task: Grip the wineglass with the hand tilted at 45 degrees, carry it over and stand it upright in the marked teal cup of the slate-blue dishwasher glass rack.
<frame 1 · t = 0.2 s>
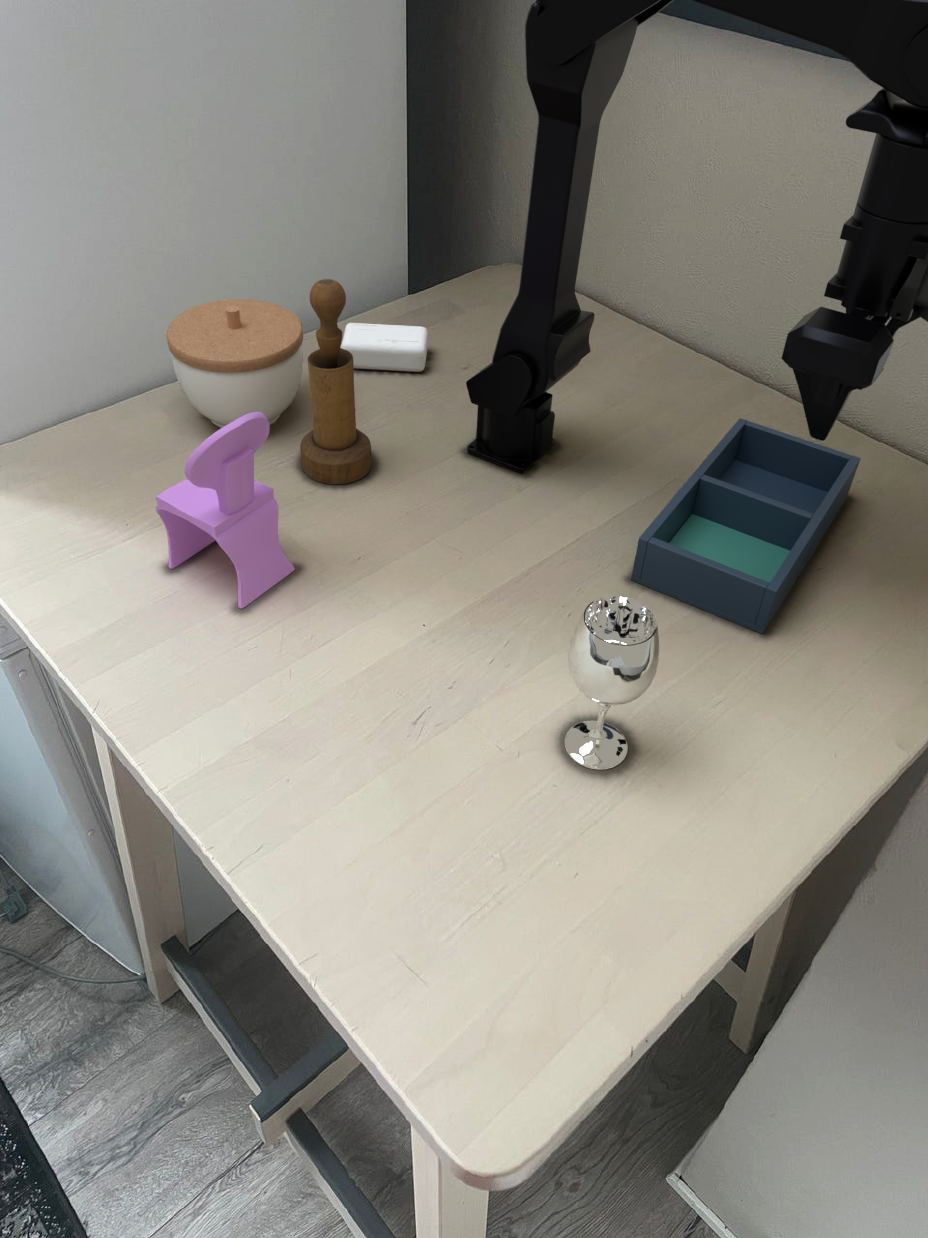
hand: (837, 412, 79), 15 cm above the table, tool pointing down, fingers open, 9 cm apart
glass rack: (744, 536, 91), on the table
lidded bowl: (245, 414, 103), on the table
wineglass: (595, 746, 73), on the table
toy chair: (230, 569, 85), on the table
mortar and pestle: (336, 466, 97), on the table
soap: (385, 361, 112), on the table
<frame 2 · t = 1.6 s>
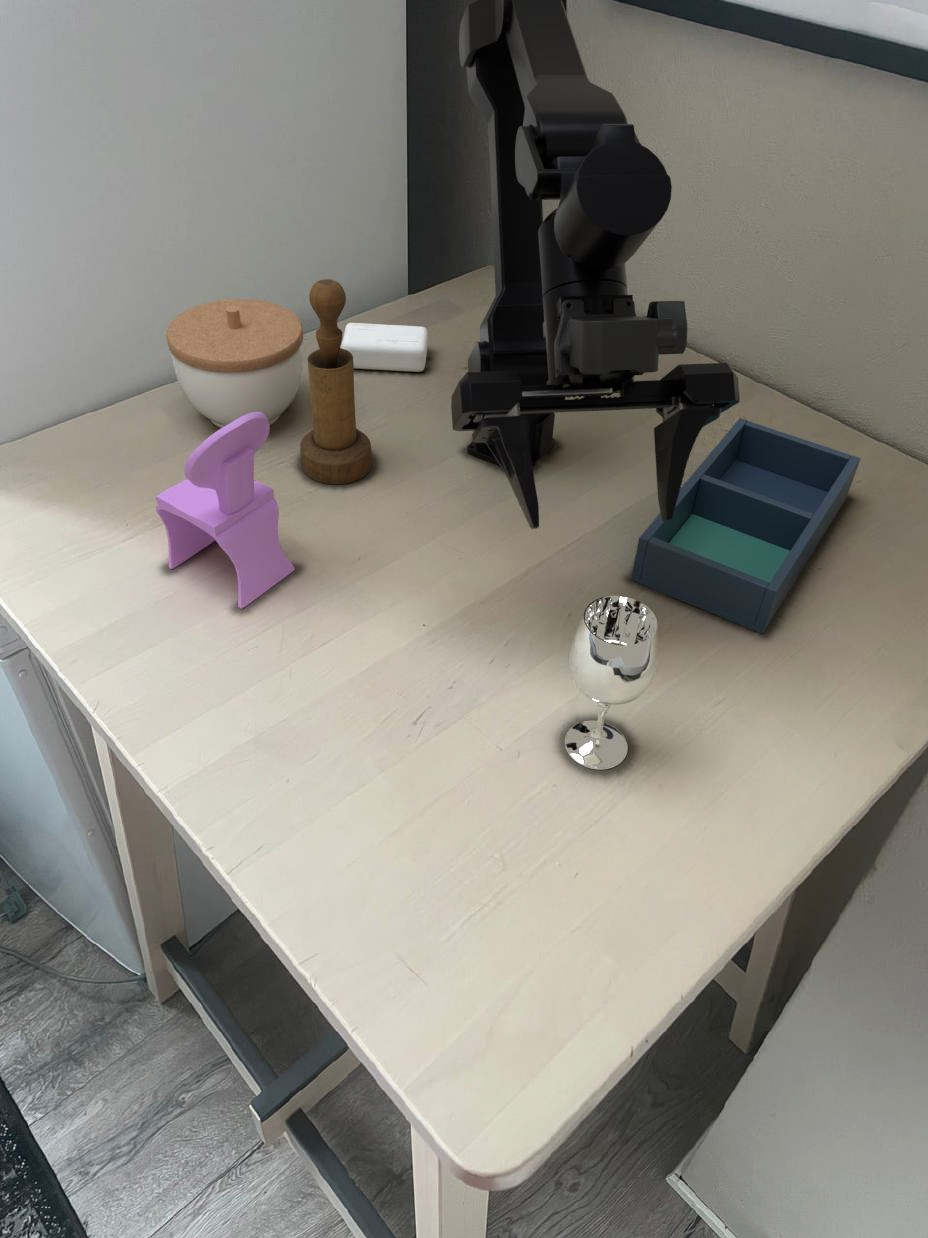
hand: (601, 524, 69), 13 cm above the table, tool tilted 45°, fingers open, 9 cm apart
nothing on the table moved.
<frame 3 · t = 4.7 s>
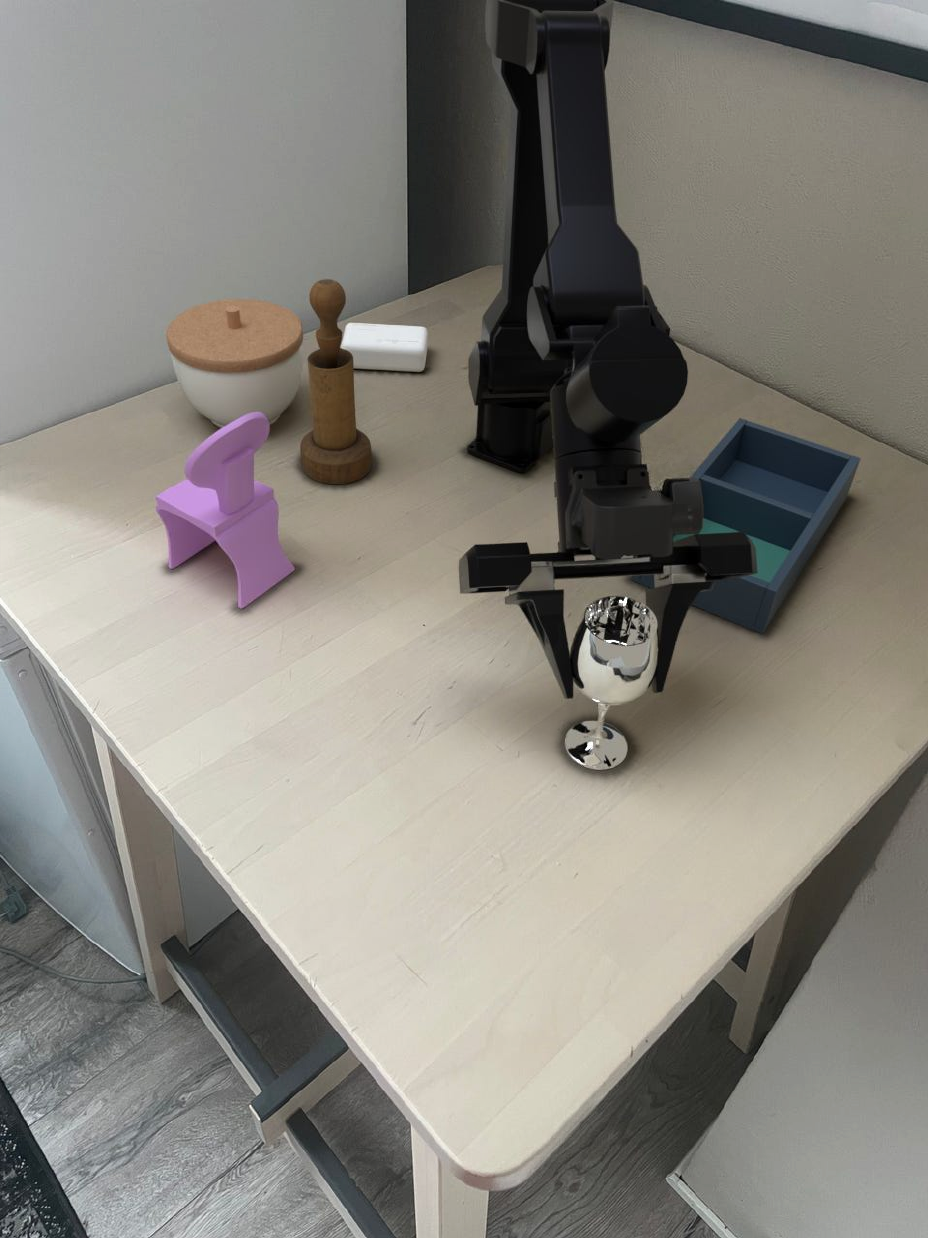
hand: (613, 695, 67), 7 cm above the table, tool tilted 45°, fingers closed on wineglass, 5 cm apart
wineglass: (595, 747, 73), on the table, touching gripper
everything else where it was.
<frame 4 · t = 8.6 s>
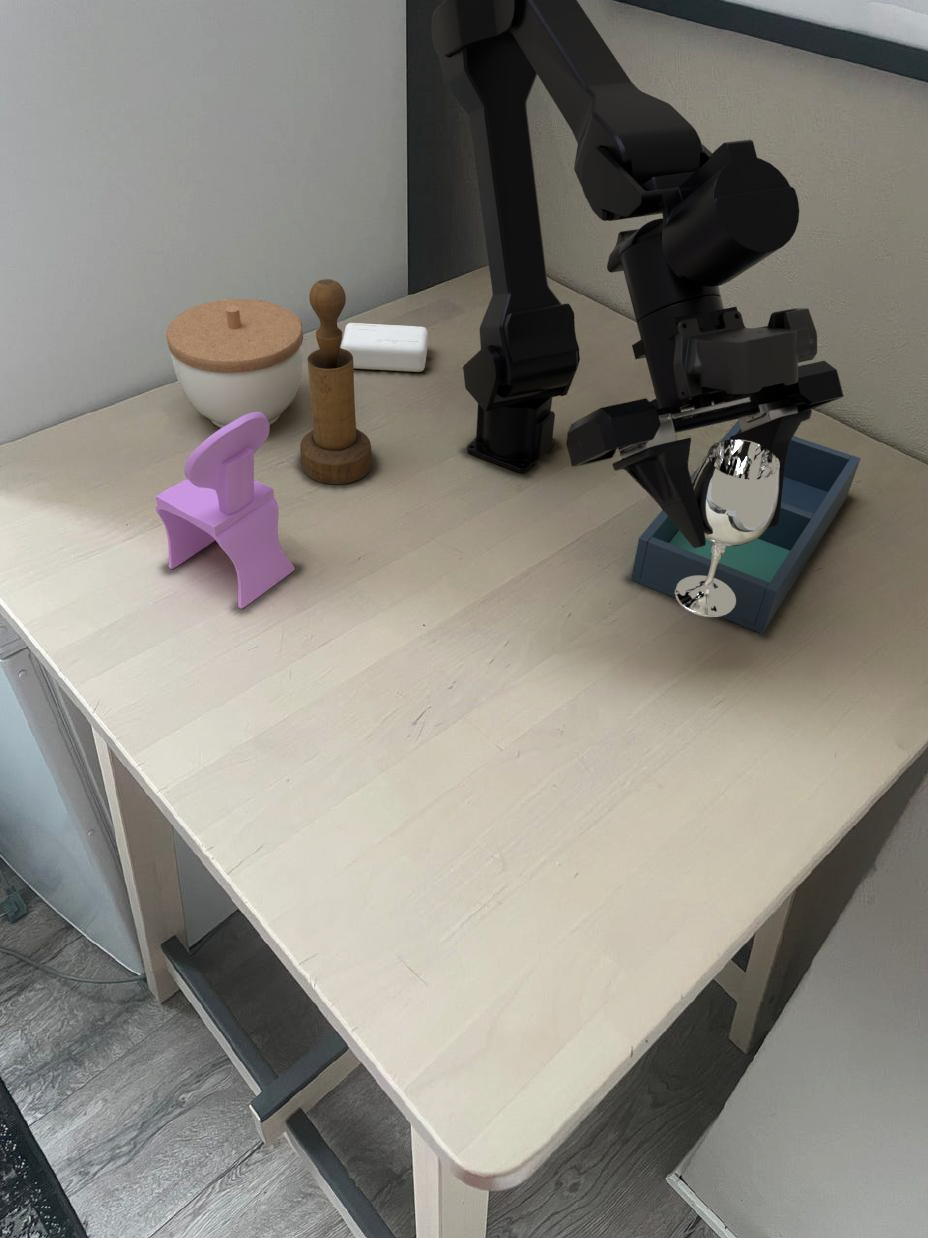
hand: (736, 537, 69), 13 cm above the table, tool tilted 45°, fingers closed on wineglass, 5 cm apart
wineglass: (704, 598, 75), point 6 cm above the table, touching gripper
everything else where it was.
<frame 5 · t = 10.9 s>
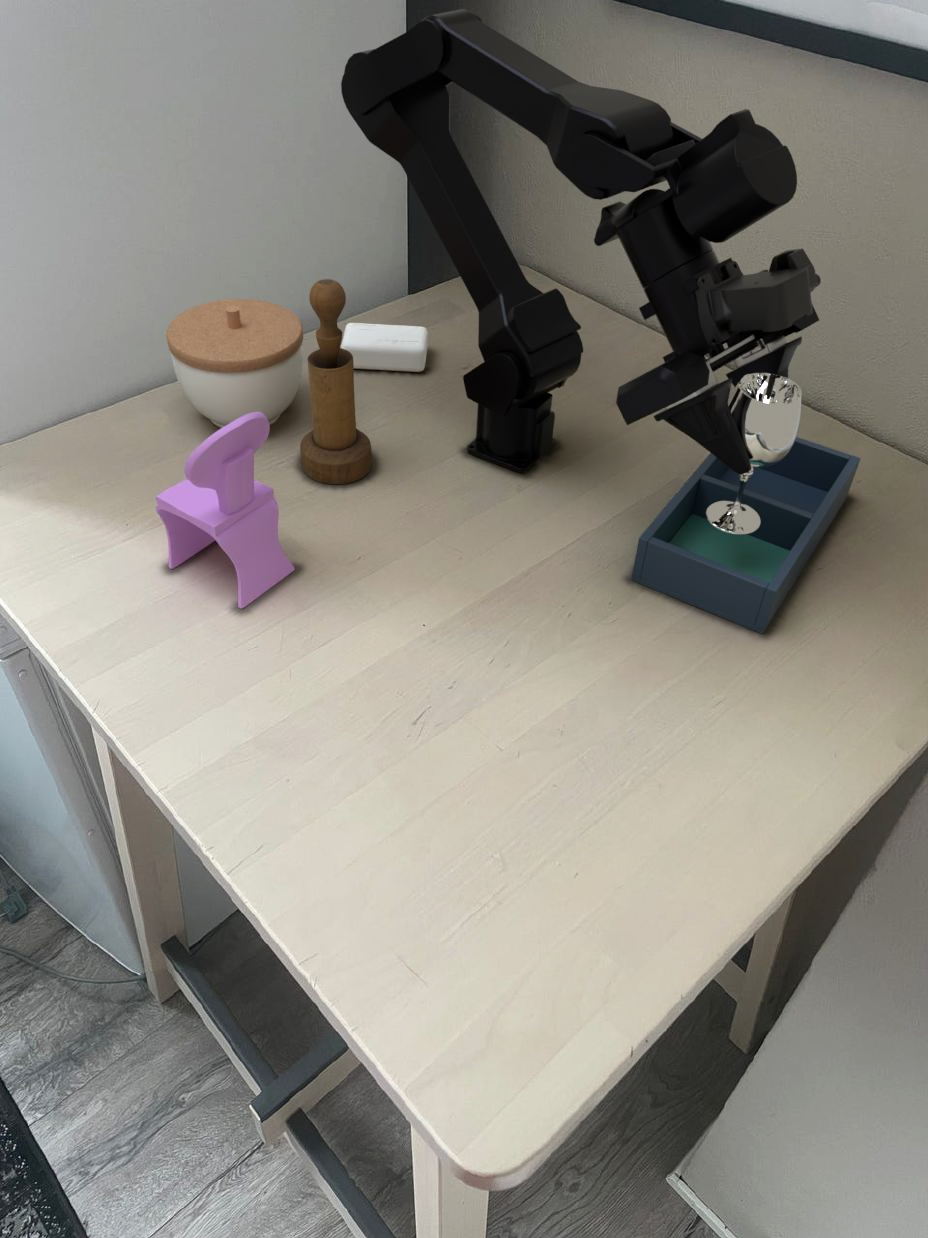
hand: (767, 458, 79), 12 cm above the table, tool tilted 45°, fingers closed on wineglass, 5 cm apart
wineglass: (732, 519, 84), point 5 cm above the table, touching gripper
everything else where it was.
when the fingers open (7 cm above the table, at t = 12.7 s): wineglass stays where it is, resting on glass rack.
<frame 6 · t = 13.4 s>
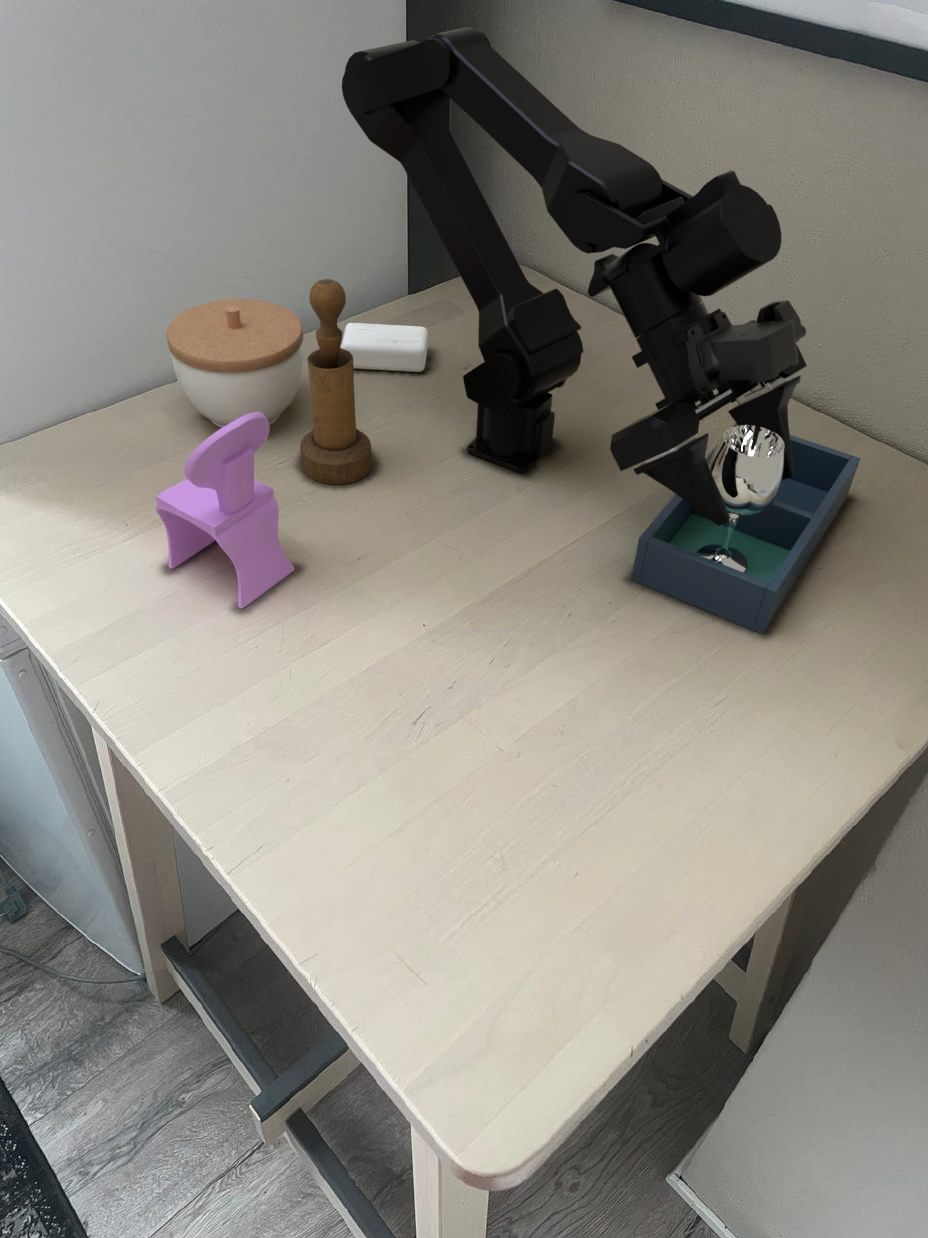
hand: (757, 500, 81), 8 cm above the table, tool tilted 45°, fingers open, 9 cm apart
wineglass: (720, 563, 87), point 1 cm above the table, touching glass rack
everything else where it was.
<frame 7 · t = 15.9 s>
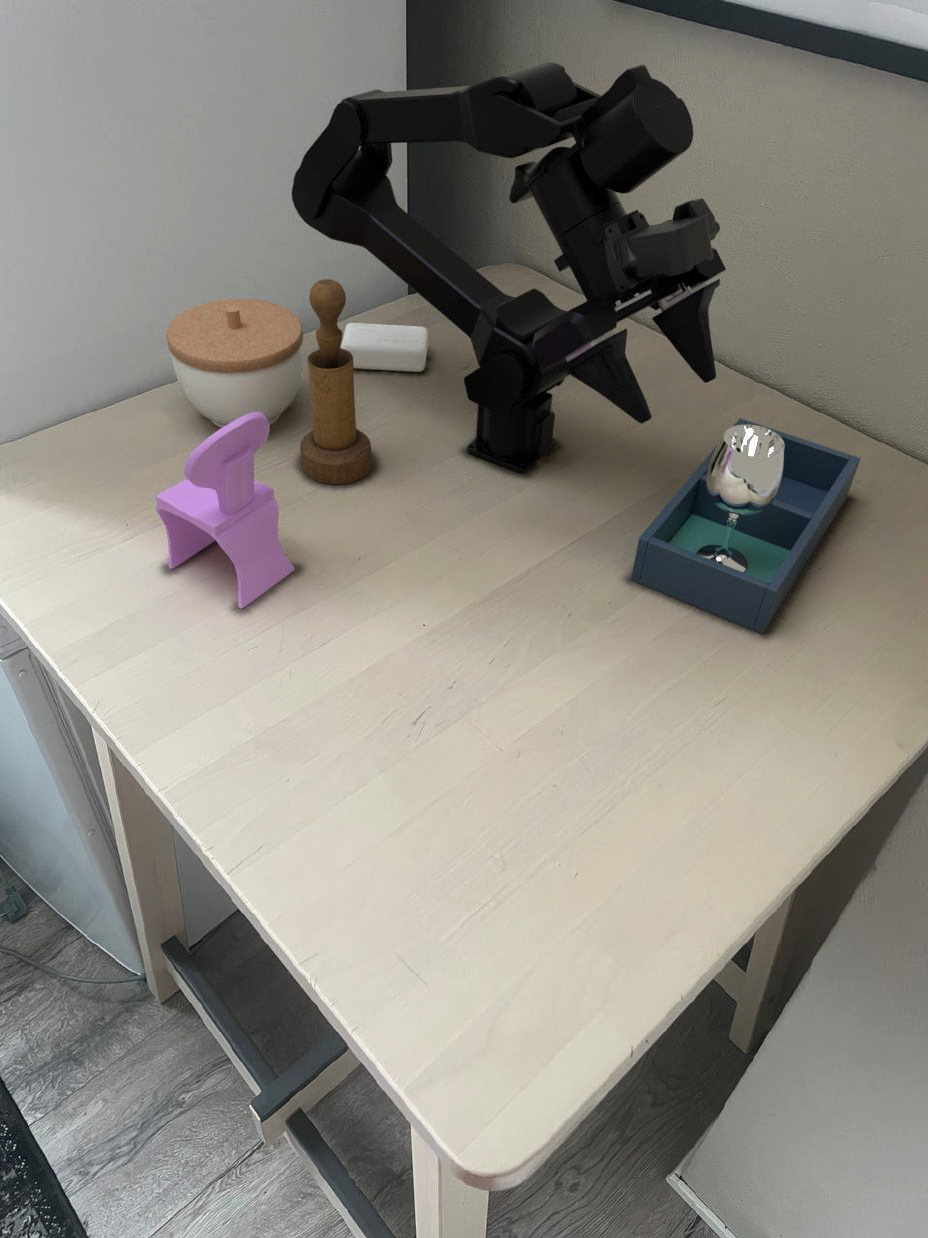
hand: (679, 400, 83), 13 cm above the table, tool tilted 45°, fingers open, 9 cm apart
nothing on the table moved.
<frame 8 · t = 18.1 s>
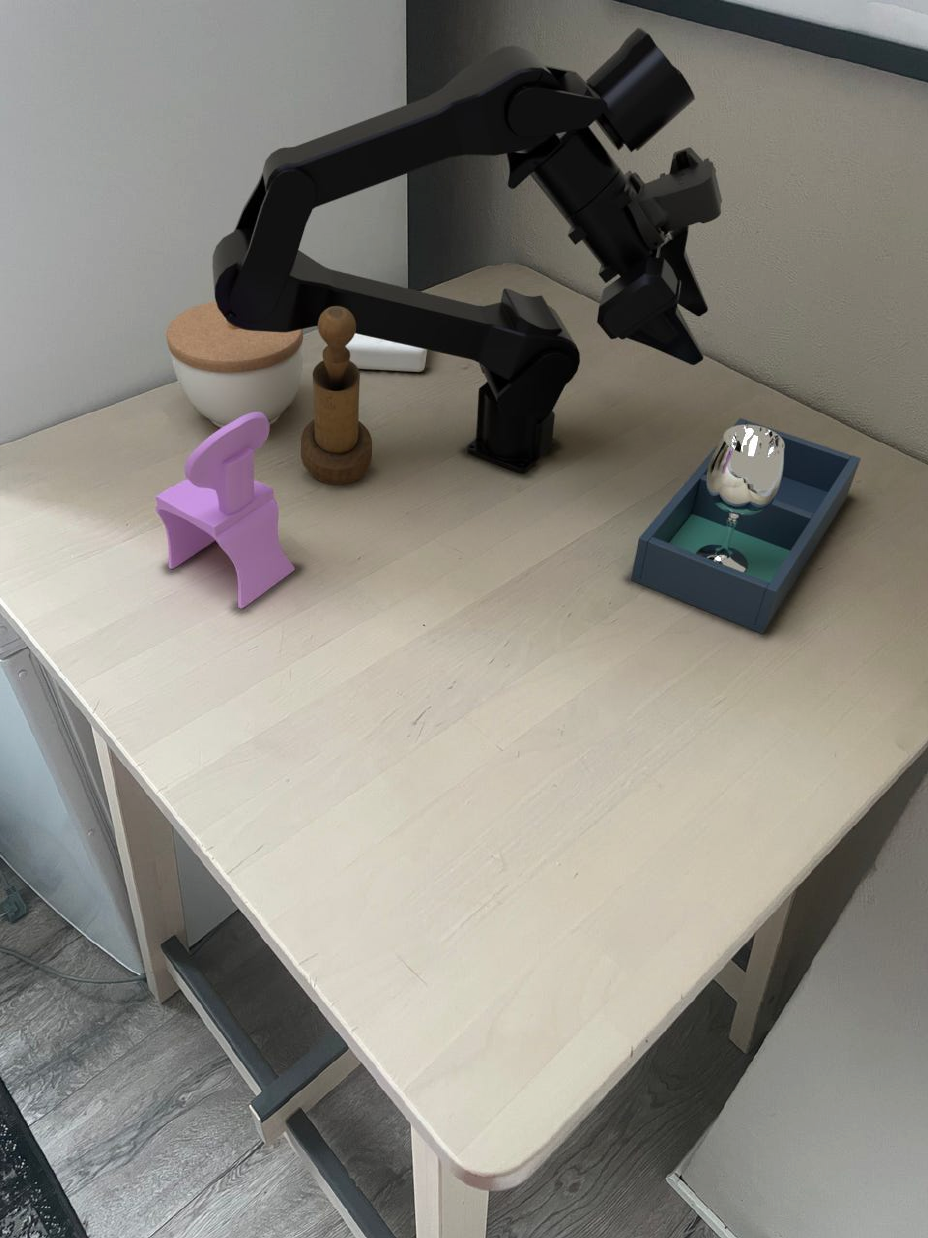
hand: (701, 336, 89), 14 cm above the table, tool tilted 45°, fingers open, 9 cm apart
mortar and pestle: (336, 457, 96), point 1 cm above the table, touching arm
everything else where it was.
at the end: wineglass inside the target area in the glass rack (0.2 cm from its centre), point 0.5 cm above the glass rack's base; wineglass tilted 0°; the gripper is holding nothing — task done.
